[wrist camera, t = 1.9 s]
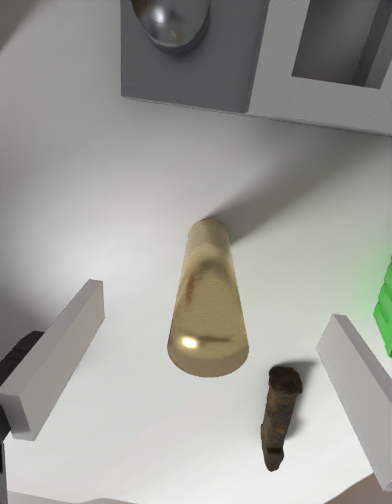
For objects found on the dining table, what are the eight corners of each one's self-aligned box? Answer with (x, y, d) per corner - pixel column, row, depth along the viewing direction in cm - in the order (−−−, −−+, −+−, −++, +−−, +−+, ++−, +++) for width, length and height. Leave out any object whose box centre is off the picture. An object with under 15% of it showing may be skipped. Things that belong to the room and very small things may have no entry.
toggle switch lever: (186, 253, 25) (164, 372, 13) (190, 216, 24) (170, 313, 11) (224, 258, 25) (239, 381, 13) (231, 222, 24) (257, 325, 11)
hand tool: (266, 363, 32) (274, 397, 28) (296, 365, 32) (309, 399, 28) (247, 440, 41) (252, 475, 37) (271, 442, 41) (278, 477, 37)
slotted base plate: (129, 99, 19) (95, 85, 14) (130, -91, 15) (80, -231, 9) (470, 148, 20) (579, 156, 14) (570, -22, 15) (789, -113, 10)
